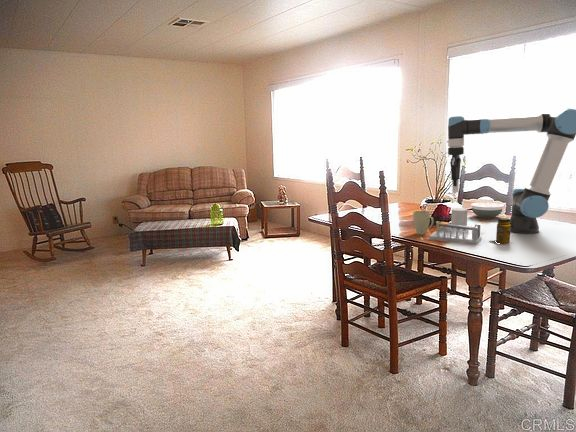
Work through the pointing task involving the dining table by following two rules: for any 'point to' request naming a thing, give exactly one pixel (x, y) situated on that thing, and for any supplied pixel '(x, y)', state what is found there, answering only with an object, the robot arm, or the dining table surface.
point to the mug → (422, 221)
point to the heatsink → (456, 235)
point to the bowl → (487, 209)
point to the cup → (459, 217)
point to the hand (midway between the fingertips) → (455, 192)
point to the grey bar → (456, 226)
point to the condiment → (503, 232)
